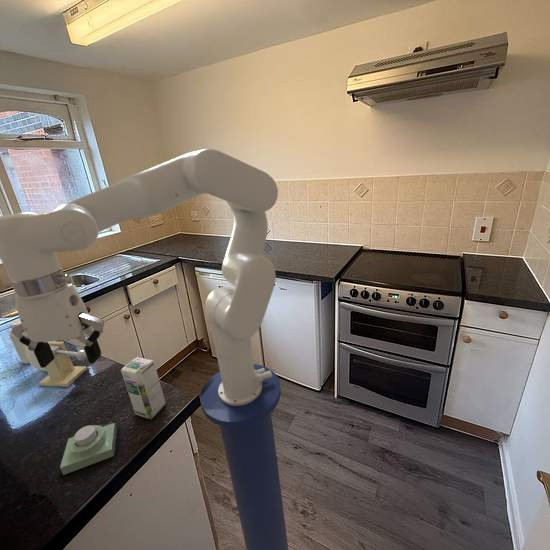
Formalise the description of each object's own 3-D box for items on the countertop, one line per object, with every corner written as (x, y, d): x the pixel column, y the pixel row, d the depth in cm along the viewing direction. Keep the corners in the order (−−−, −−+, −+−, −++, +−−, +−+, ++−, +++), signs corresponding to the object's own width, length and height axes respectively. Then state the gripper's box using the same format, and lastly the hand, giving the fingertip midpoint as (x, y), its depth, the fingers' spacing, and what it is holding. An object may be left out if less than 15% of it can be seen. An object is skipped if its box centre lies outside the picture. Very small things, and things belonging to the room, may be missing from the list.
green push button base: (117, 429, 74) (112, 417, 73) (114, 456, 67) (109, 443, 66) (71, 445, 71) (65, 432, 69) (63, 475, 64) (56, 462, 62)
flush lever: (92, 357, 92) (89, 348, 91) (84, 363, 89) (82, 354, 88) (54, 351, 94) (52, 343, 93) (45, 358, 91) (43, 349, 90)
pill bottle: (45, 359, 106) (29, 323, 100) (18, 367, 103) (0, 329, 98) (51, 348, 113) (36, 313, 107) (26, 354, 110) (9, 319, 105)
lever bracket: (87, 369, 98) (75, 339, 94) (67, 386, 91) (53, 354, 87) (61, 368, 100) (48, 338, 96) (40, 385, 93) (25, 354, 88)
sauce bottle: (29, 376, 98) (6, 328, 91) (49, 361, 105) (29, 316, 98) (49, 377, 96) (27, 329, 90) (68, 361, 103) (49, 316, 97)
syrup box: (134, 415, 78) (118, 370, 73) (150, 398, 83) (137, 355, 78) (151, 420, 76) (136, 374, 70) (167, 403, 81) (154, 359, 75)
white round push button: (98, 429, 70) (95, 422, 69) (95, 442, 67) (92, 436, 66) (79, 435, 69) (76, 429, 68) (75, 450, 65) (72, 443, 65)
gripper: (99, 271, 57) (123, 346, 63) (10, 279, 57) (43, 353, 64) (75, 287, 50) (104, 370, 56) (-26, 296, 50) (15, 377, 57)
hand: (72, 361), depth 60 cm, fingers open, 9 cm apart
